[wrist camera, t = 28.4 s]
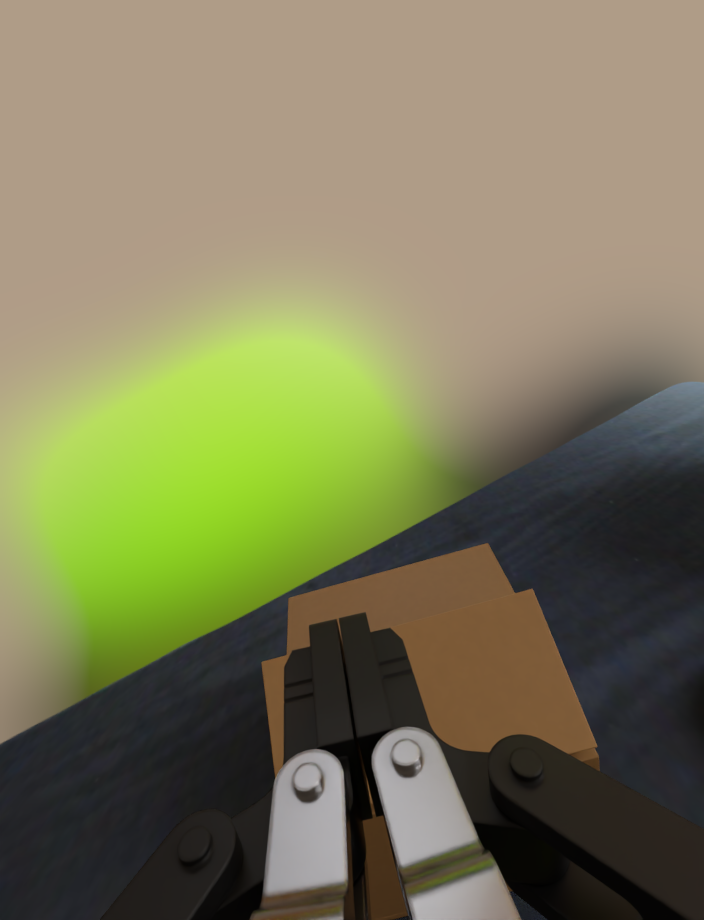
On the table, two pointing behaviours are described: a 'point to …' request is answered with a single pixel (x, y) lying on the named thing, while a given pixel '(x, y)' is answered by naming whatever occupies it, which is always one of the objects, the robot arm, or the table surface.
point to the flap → (477, 678)
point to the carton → (390, 605)
